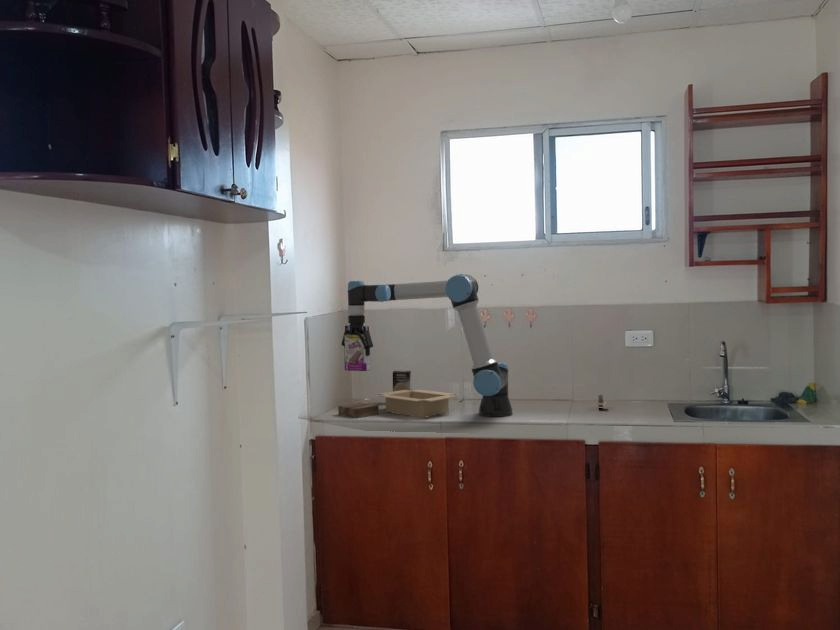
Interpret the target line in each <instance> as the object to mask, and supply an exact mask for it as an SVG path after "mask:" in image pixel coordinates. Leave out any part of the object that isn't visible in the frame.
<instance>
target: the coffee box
mask: <svg viewBox="0 0 840 630" xmlns="http://www.w3.org/2000/svg"><path fill="white" fill-rule="evenodd" d="M400 390H409V391H412V370H393V371H392V392H394V391H400Z"/></svg>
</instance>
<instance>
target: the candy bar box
mask: <svg viewBox="0 0 840 630" xmlns="http://www.w3.org/2000/svg"><path fill="white" fill-rule="evenodd" d="M343 336H344V346H343V347H344V348H343V349H344V352H343V353H344V371H349V372H352V371H353V372H354V371H355V372H368V371H371V355H370V356H369V363H364V345H363V343H362V341H361V339H360V337H359V336H358V335H349V334H348V335H344V334H343ZM362 337H363V338H364V339H365V336H364V335H362ZM365 341H366V340H365Z"/></svg>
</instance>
